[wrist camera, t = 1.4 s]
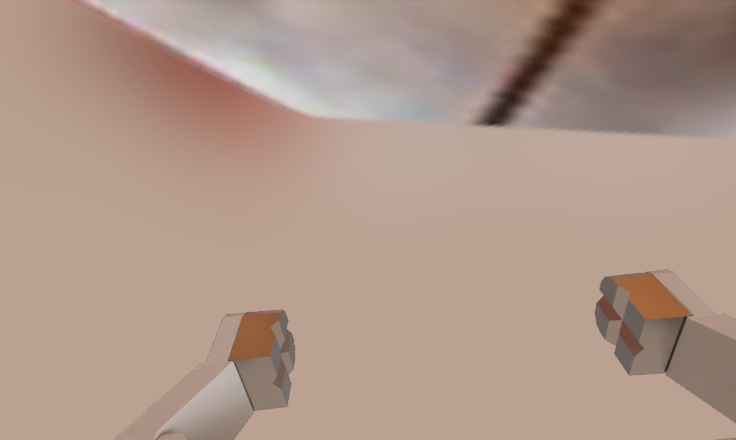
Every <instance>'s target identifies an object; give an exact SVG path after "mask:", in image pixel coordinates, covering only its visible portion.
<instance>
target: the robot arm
mask: <svg viewBox="0 0 736 440" xmlns="http://www.w3.org/2000/svg"><path fill="white" fill-rule="evenodd" d="M600 291H601V292H602V293H603V295H604V296H603V297H602V298H601V299H600V300H599V301H598V302H597V304H596V309H595V316H596V323H597V326H598V328H599V331H600V333H601V334H602V336H603V337H604V339H605V340H607V341H608V342H610V343H612V344H614V345H615V346H616V348H615V353H614V354H615V355H616V357H617V358H618V360H619V361H620V363H621V364H622V366H623V367H624V369H625V370H626V372H627V373H628V375H629V376H630V375H645V374H660V373H666V375H667V376H668V377H670V378H671V379H672V380H674V381H675V382H677V383H678V384H680V385H681V386H683V387H684V388H685V389H687V390H688V391H690V392H691V393H693V394H694V395H696V396H697V397H698V398H700V399H701V400H703V401H704V402H706V403H707V404H709V405H710V406H712V407H713V408H714V409H716V410H717V411H719V412H721V413H722V414H723V415H725V416H726V417H728V418H729V419H730V420H732V421H733V422H735V423H736V318H733V317H731V316H729V315H726V314H717V313H716V312H715V311H713V309H711V308H710V307H709V306H708V305H707V304H706V303H705V302H704V301H703V300H702V299H701V298H700V297H699V296H698V295H697V294H696V293H695V292H694V291H693V290H692V289H691V288H689V287H688V286H687V285H686V284H685V283H684V282H683V281H682V280H681V279H680V278H679V277H678V276H677V275H676V274H675V273H674V272H672V271H670V270H659V271H650V272H645V273H635V274H626V275H617V276H608V277H604V279H603V280H602V281H601V285H600ZM287 324H288V318H287V315H286V313H285V311H284V310H272V311H259V312H246V313H238V314H227V315H226V316H225V317H224V318H223V320H222V322H221V325H220V327H219V330H218V332H217V335H216V338H215V340H214V343H213V345H212V348H211V350H210V353H209V355H208V358H207V361H206V363H205V364H199V365H198V366H197V367H196V368H195V369H194V370H192V371H191V372H190V373H189V374H188V375H187V376H185V377H184V378H183V379H182V380H181V381H180V382H179V383H177V384H176V385H175V386H174V387H173V388H172V389H171V390H169V391H168V392H167V393H166V394H165V395H164V396H163V397H161V398H160V399H159V400H158V401H157V402H156V403H155V404H153V405H152V406H151V407H150V408H149V409H148V410H146V411H145V412H144V413H143V414H142V415H141V416H140V417H138V418H137V419H136V420H135V421H134V422H133V423H132V424H130V425H129V426H128V427H127V428H126V429H125V430H124V431H122V432H121V433H120V434H119V435H118V436H117V437H116V438H115V440H234V439H235V437H236V436H237V435H238V433H239V432H240V431H241V429H242V428H243V426H244V425H245V424H246V423H247V422H248V420H249V419H250V417H251V416H252V415H253V413H254V411H256V410H265V409H273V408H281V407H287V406H288V400H289V394H290V388H291V382H290V378H289V374H290V373H291V371H292V370H293V369H294V363H295V345H294V339H293V336H292V333H291V332H290V331H288V330H287ZM717 440H718V439H717ZM719 440H736V438H729V439H719Z"/></svg>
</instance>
